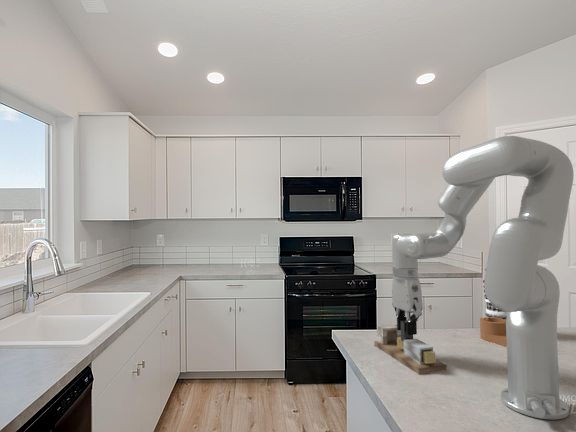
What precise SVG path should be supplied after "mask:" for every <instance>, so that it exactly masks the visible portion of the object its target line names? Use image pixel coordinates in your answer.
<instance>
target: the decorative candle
mask: <svg viewBox="0 0 576 432" xmlns="http://www.w3.org/2000/svg"><path fill="white" fill-rule="evenodd" d="M483 270H484V271H485V272H486V268H484V269H483ZM484 280H485V279H483V281H482V282H483V284H484ZM483 292H484V293H485V288H484V285H483ZM483 297H484V298H485V299H484V302H486V308H485V317H495V318H501V319H504V320H506V318H507V312H505V311H501V310H499V309H497V308H496V307H494V306H493V305H492V304H491V303H490V301H489V300H488V298H487V296H486V293H485V294H484V296H483Z"/></svg>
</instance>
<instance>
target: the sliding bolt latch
mask: <svg viewBox="0 0 576 432" xmlns="http://www.w3.org/2000/svg"><path fill="white" fill-rule="evenodd" d="M397 337H401V330H397V323H392V324H381V325H377V340H374V346H375V347H376V348H378V349H379V350H381V351H383V353H385V354H387V355H388V356H390V357H392V358H393V359H394V360H396V361H397V362H399V363H400V364H402V365H404V366H406V367H407V368H408V369H410V370H411V371H413V372H415V373H416V374H417V375H424V374H430V373H436V372H443V371H447V364H445V363H443V362H442V361H440V360H438V359H437V358H436V363H429V364H427V363H425V362H423V361H422V354H421V350H428V349H430V350H432V351H433V352H434V346H432V345H430V344H428V343H426V342H424V341H422V340H421V339H418V338H413V339H408V340H404V350H403V349H401V348H399V347H397Z"/></svg>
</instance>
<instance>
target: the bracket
mask: <svg viewBox="0 0 576 432" xmlns="http://www.w3.org/2000/svg"><path fill="white" fill-rule="evenodd" d="M479 329H480V331H479V332H480V334H479V336H480V339H481V340H482V339H483V340H482V341H484V340H485V342H487V341H488V342H489V343H491V342H492V343H491V344H494V343H495V344H494V345H498V346H501V347H505V348H507V339H506V320H504V319H501V318H495V317H487V316H485V317H480V318H479ZM488 342H487V343H488Z"/></svg>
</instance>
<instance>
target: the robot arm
mask: <svg viewBox="0 0 576 432" xmlns="http://www.w3.org/2000/svg"><path fill="white" fill-rule="evenodd" d="M441 172H442V177H443V180H444V181H445V182H446V183H447V184H446V185H447V186H445V188H444V190H443V191H442V192H441V194H440V195H439V197H438V199H437V205H438V207H439V208H440V210H441V211H442V212H444V217H443V219H442V222H441V224H440V225H439V227H438V228H437V229H436V231H434V232H424V233H395V234H394V235H392V237H391V252H392V253H391V255H392V256H391V257H392V259H391V262H392V284H391V285H392V286H391V300H392V303H391V304H392V305H391V306H392V307H393V309H394V311H395V316H396V324H397V330H401V321H404V320H408V321H407V322H406V328H407V335H413V336H414V335H417V334H418V331H417V330H418V328H417V327H418V326H417V322H418V321H419V318H420V317H421V316H423V307H424V306H423V304H424V303H423V293H422V286H421V282H420V278H419V267H418V265H419V263H418V261H419V260H427V259H429V260H430V259H436V258H437V259H438V258H442V257H445V256H446V255H448V254H449V253H451V251H452V250H453V249H454V248H455V247H456V245H457V244H458V243H459V241H460V240H461V239H462V237H463V235H464V233H465V230H466V226H467V217H468V216H469V214H470V212H471V211H472V209H474V207H475V205H476V204H478V202H479V200H480V199H481V197H482V196H483V195H484V193H486V191H487V189H488V188H489V186H491V184H492V182H493V181H494V179H495V178H499V177H503V176H510V177H523V178H526V179H527V180H528V182H527V183H528V184H526V187H525V189H524V191H523V194H522V196H521V199H520V200H521V201H520V207H519V212H518V213H519V214H518V216H517V217H514V218H510V219H506V220H505V221H503V222H502V223H500V224H499V225H498V226H497V227H496V229H495V230H494V232H493V234H492V236H491V239H490V243H489V248H488V249H489V250H488V256H487V262H486V268H485V269H486V271H485V275H484V279H483V280H484V283H483V284H484V285H483V286H484V287H483V289H484V288H485V289H484V290H485V292H484V293H485V294H486V296H487V298H488V300H489V301H490V303H491V304H492V305H493V306H494V307H496V308H497V309H499V310H501V311H505V312H507V318H506V339H507V347H506V361H507V362H506V365H507V386H508V387H507V388H505V389H503V390H502V391H501V392H500V400H501V401H502V403H503V404H504V405H505V406H507V407H509V409H511V410H513V411H514V412H517V413H519V414H522V415H525V416H529V417H532V418H536V419H541V420H552V421H553V420H554V421H555V420H562V419H565V418H567V417H568V416H569V415H570V409H569V408H570V407H569V406H568V404H567V403H566V402H565V401H564V400H563V399H561V398H560V375H559V356H558V355H559V353H558V352H559V351H558V350H559V349H558V313H559V312H558V311H559V303H560V296H561V295H560V286H559V281H558V280H557V278H556V276H555V274H554V273H552V271H550V270H549V269H548V268H546V267H545V266H542V265H540V264H539V261H543V260H547V259H551V258H553V257H554V256H556V255H557V254H558V253H559V251H560V250H561V248H562V244H563V239H564V234H565V227H566V222H567V217H568V212H569V211H568V210H569V203H570V199H571V193H572V190H573V184H574V173H575V171H574V167H573V163H572V161H571V159H570V158H569V156H568V155H567V154H566V153H565V152H564V151H562V150H561V149H560V148H558V147H556V146H555V145H552V144H551V143H548V142H544V141H541V140H537V139H533V138H526V137H522V136H515V135H506V136H505V135H504V136H499V137H497V138H494V139H490V140H487V141H485V142H482V143H479V144H476V145H472V146H470V147H468V148H464V149H462V150H459V151H457V152H456V153H453V154H452V155H450V157H448V158H447V159H446V161H445V162H444V164H443V166H442V171H441ZM538 264H539V265H538ZM411 314H412V315H411Z"/></svg>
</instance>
